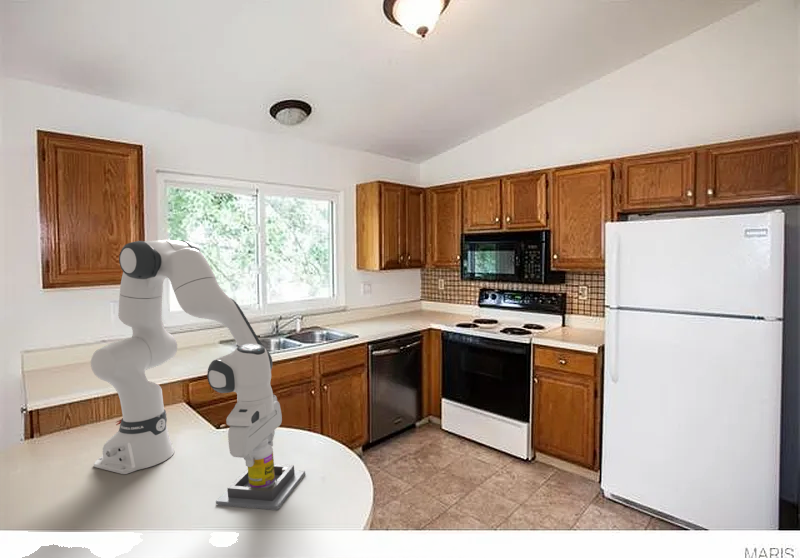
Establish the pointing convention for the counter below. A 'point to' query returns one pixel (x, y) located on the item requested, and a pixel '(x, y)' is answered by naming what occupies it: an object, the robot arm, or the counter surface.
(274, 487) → the pocket plate
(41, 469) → the counter surface
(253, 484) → the supplement bottle
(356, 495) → the counter surface
